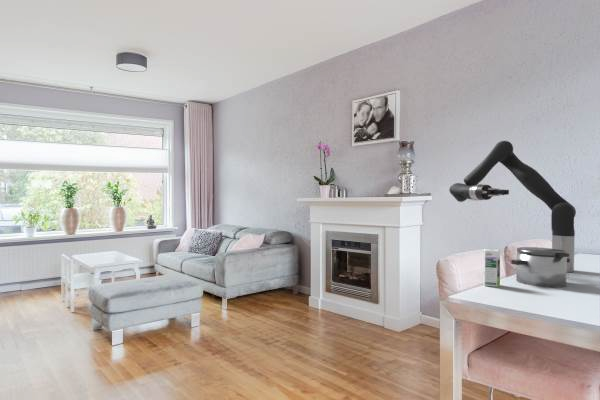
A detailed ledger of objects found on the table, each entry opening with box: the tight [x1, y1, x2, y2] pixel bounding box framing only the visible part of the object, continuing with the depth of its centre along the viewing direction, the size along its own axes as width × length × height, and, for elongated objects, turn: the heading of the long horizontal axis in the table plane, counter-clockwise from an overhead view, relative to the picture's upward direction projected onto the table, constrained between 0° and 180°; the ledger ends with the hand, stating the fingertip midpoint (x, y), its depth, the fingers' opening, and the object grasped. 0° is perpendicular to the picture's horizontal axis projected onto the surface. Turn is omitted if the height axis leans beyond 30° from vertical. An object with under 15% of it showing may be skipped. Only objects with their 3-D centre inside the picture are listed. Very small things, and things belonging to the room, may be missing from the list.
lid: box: [516, 246, 569, 257], centre depth 168 cm, size 20×18×1 cm
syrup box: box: [483, 248, 501, 288], centre depth 163 cm, size 6×6×14 cm
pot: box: [510, 251, 570, 288], centre depth 169 cm, size 18×28×12 cm, turn 107°
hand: (507, 192), depth 187 cm, fingers closed
